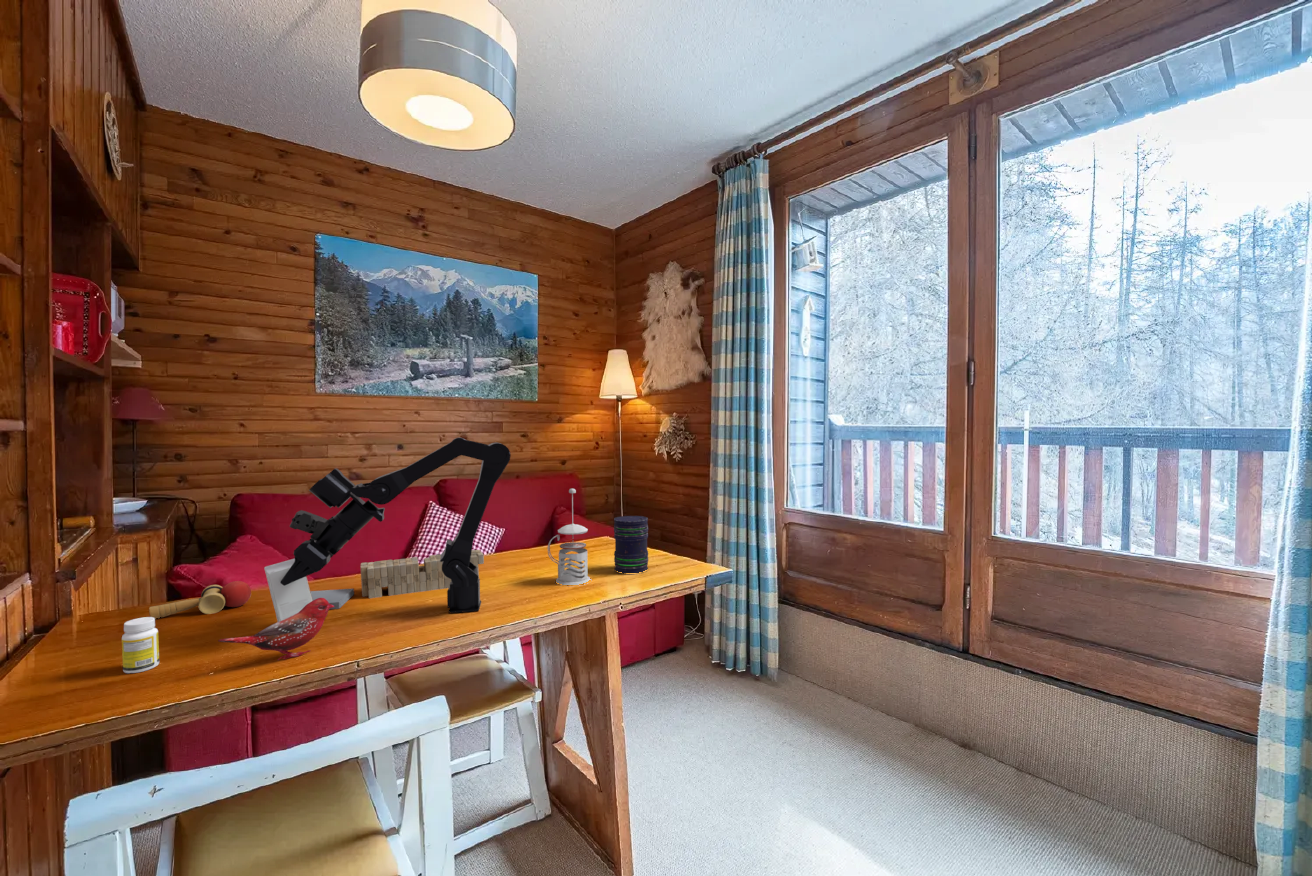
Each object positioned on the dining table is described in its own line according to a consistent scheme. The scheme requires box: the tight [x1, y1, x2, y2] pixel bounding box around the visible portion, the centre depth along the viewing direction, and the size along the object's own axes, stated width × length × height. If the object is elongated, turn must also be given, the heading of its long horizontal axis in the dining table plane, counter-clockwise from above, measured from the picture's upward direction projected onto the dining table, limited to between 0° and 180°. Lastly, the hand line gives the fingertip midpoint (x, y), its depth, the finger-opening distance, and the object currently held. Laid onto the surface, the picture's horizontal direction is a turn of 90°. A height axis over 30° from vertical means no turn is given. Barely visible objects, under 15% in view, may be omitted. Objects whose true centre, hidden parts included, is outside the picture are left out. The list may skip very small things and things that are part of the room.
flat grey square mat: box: [310, 588, 355, 610], centre depth 133 cm, size 11×11×2 cm
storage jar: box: [613, 515, 649, 573], centre depth 161 cm, size 10×10×15 cm
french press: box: [547, 488, 592, 586], centre depth 151 cm, size 10×12×25 cm
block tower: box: [360, 549, 485, 599], centre depth 146 cm, size 8×8×29 cm
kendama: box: [148, 580, 252, 620], centre depth 128 cm, size 8×6×18 cm
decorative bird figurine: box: [217, 598, 334, 661], centre depth 101 cm, size 3×18×10 cm, turn 134°
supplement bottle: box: [121, 616, 160, 674], centre depth 98 cm, size 5×5×8 cm
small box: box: [263, 557, 312, 622], centre depth 117 cm, size 8×6×13 cm
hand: (288, 578), depth 117 cm, fingers closed on small box, 9 cm apart
